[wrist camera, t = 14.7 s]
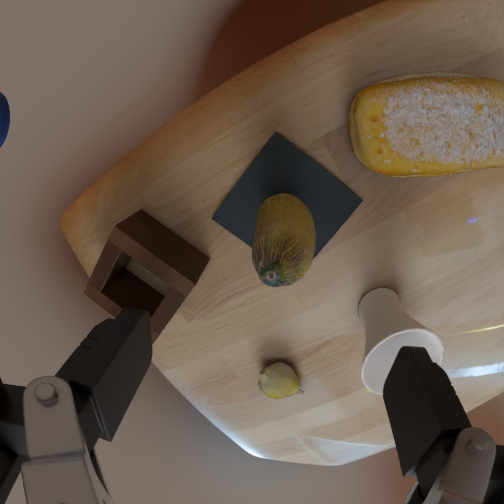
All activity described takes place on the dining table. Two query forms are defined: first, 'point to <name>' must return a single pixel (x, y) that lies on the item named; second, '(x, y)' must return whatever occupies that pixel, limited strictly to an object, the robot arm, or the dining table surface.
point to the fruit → (279, 381)
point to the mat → (291, 182)
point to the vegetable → (283, 240)
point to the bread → (429, 124)
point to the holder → (152, 258)
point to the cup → (390, 336)
